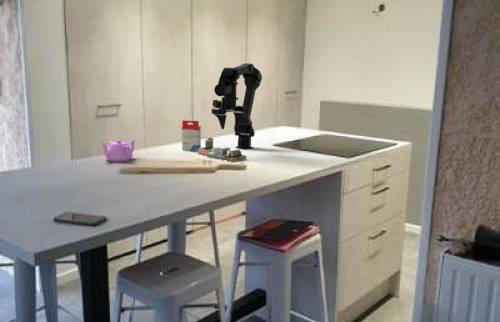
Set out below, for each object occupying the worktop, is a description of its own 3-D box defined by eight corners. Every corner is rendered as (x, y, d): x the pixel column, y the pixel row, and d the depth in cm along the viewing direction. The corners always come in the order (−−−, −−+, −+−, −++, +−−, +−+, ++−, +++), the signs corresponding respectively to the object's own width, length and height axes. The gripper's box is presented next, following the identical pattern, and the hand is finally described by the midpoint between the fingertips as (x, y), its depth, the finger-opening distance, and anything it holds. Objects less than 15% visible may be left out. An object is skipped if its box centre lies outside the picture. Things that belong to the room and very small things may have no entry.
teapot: (100, 162, 226) (100, 141, 224) (110, 156, 240) (110, 136, 238) (128, 163, 226) (128, 142, 224) (136, 157, 239) (136, 137, 238)
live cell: (236, 158, 242) (235, 150, 242) (242, 157, 240) (240, 149, 240) (225, 160, 237) (223, 152, 237) (230, 159, 234) (229, 151, 234)
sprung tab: (228, 153, 244) (228, 147, 244) (230, 154, 243) (230, 147, 243) (220, 155, 241) (220, 148, 240) (222, 155, 240) (222, 149, 239)
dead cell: (214, 153, 249) (214, 137, 248) (208, 154, 247) (209, 138, 245) (209, 152, 252) (209, 136, 250) (203, 153, 249) (203, 137, 248)
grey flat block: (222, 154, 250) (222, 146, 250) (236, 157, 244) (236, 149, 244) (206, 156, 243) (207, 149, 242) (220, 159, 237) (220, 151, 236)
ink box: (200, 149, 261) (201, 119, 258) (199, 151, 256) (199, 121, 253) (183, 148, 262) (183, 119, 259) (181, 150, 257) (181, 120, 254)
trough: (236, 157, 244) (237, 153, 244) (246, 159, 240) (246, 155, 240) (222, 160, 237) (222, 156, 237) (231, 162, 233) (231, 158, 233)
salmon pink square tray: (209, 152, 254) (209, 146, 254) (219, 154, 250) (219, 148, 249) (198, 154, 249) (198, 148, 249) (208, 156, 245) (208, 150, 244)
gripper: (231, 93, 259) (231, 124, 263) (203, 94, 246) (203, 128, 249) (248, 94, 252) (247, 127, 255) (220, 96, 239) (220, 130, 242)
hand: (229, 128), depth 251 cm, fingers open, 9 cm apart
